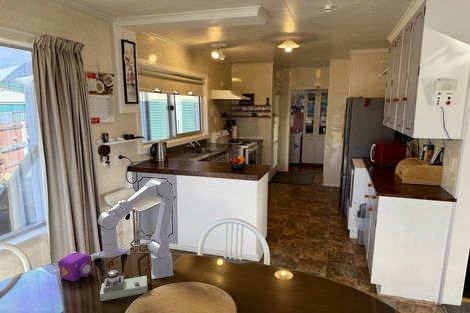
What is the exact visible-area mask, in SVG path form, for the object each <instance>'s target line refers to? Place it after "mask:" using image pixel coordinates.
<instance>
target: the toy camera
mask: <svg viewBox="0 0 470 313" xmlns="http://www.w3.org/2000/svg"><path fill="white" fill-rule="evenodd" d="M58 268H59V275H60V278H61V279H64V280H67V281H69V282H76V281H78V280H80V279H81V278H85V277H86V278H87V277H88V276H89V275H90V274H91V273H92V271H93V263H92V261H91V262H90V257H89V255H88V254H86V253H83V252H78V251H73V252H72V253H70V254H68V255H66V256H64V257H62V258H60V259H59V261H58Z"/></svg>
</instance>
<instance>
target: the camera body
mask: <svg viewBox="0 0 470 313" xmlns="http://www.w3.org/2000/svg"><path fill="white" fill-rule="evenodd" d="M124 277H125V276H124V275H119V285H114V286H109V281H108V277H107V278H105V279H104V282H102V284H101V288H100V292H99V300H100V302H102V301H103V302H104V301H109V300H114V299H120V298H125V297H130V296H136V295H141V294H147V293H148V278H147V277H148V276H147V275H143V276H142V275H141V276H137V277H131V278H124ZM146 292H147V293H146Z"/></svg>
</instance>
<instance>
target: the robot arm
mask: <svg viewBox="0 0 470 313" xmlns="http://www.w3.org/2000/svg"><path fill="white" fill-rule="evenodd" d="M149 196H157V197H158V198H159V199H160V203H159V204H160V205H159V209H158V215H157V219H156V220H157V221H156V225H155V232H154V234H152V236H151V238H150V240H149V242H148V244H147V249H148V251H149V252H150V259H151V260H150V261H151V272H150V273H151V274H150V275H151V280H158V279H162V278H163V279H164V278H167V277H173V276H174V265H173V264H174V263H173V254H172V253H171V248H170V240H169V237H168V232H169V226H170V222H171V216H172V210H173V206H174V200H175V197H174V192H173V186H172V184H171V183H170V182H169V181H167V180H163V179H160V178H157V177H153V178H150V180H149V181H147V182H146V183H145V184H144V186H142V187H141V188H140V189H139V190H138V191H137V192H136V193H134V194H133V195H132V196H131V197H129V199H126V200H125V199H122V200H119V201H118V202H117V204H116V205H114V206H113V207H112V208H111V209H108V210H107V211H104V212H102V213H101V214H100V215H99V217H98V219H97V223H98V225H99V226H100V235H101V244H102V251H99V252H95V253H92V254H91V255H90V258H91V261H94V265H95V266H96V267H97V268H98V270H99V272H100V275H101V277H104V276H105V270H104V265H103V263H104V260H103V259H105V258H106V259H107V258H108V259H109V258H114V257H120V263H121V264H120V266H121V273H123V274H124V272H125V266H126V262H127V259H128V256H130V255H131V248H119V243H118V242H119V241H118V232H117V227H118V224H119V222H120V221H121V220H122V219H124V217H126V216H127V215H128V214H130V213H131V212H132V211H133V207H135V205H137V204H138V203H139V204H140V202H141V201H143V200H145V199H146V198H147V197H149Z"/></svg>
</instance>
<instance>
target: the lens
mask: <svg viewBox="0 0 470 313" xmlns="http://www.w3.org/2000/svg"><path fill="white" fill-rule="evenodd" d="M119 276H120V272H119V270H116V269H113V270H110V271H108V272H107V278H108V281H109V286H114V285H119Z"/></svg>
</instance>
